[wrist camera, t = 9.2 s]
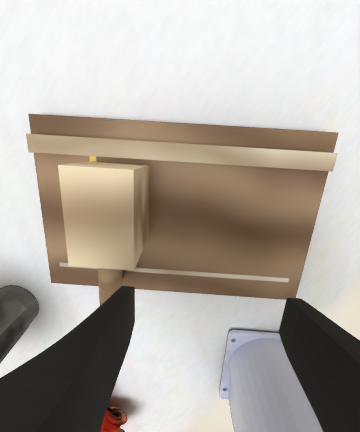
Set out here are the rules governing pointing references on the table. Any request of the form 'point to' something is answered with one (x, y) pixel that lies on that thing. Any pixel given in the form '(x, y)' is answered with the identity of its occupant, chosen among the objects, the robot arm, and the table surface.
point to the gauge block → (105, 218)
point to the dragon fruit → (113, 420)
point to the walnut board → (196, 200)
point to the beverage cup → (15, 316)
